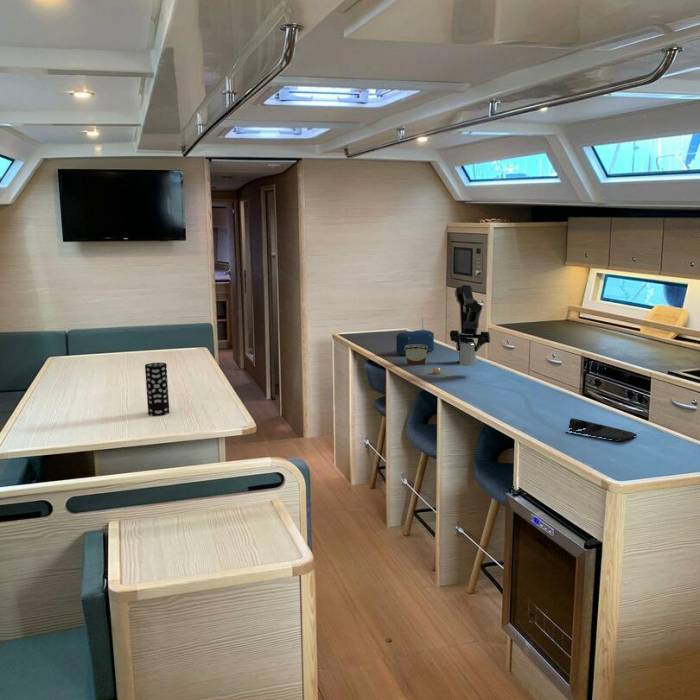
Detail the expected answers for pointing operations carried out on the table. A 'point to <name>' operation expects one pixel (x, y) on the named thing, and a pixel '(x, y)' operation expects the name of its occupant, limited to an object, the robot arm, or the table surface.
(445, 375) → the grey mat
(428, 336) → the radio
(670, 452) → the table surface
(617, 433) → the black knife blade
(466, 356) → the steel cup
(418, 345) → the food container
